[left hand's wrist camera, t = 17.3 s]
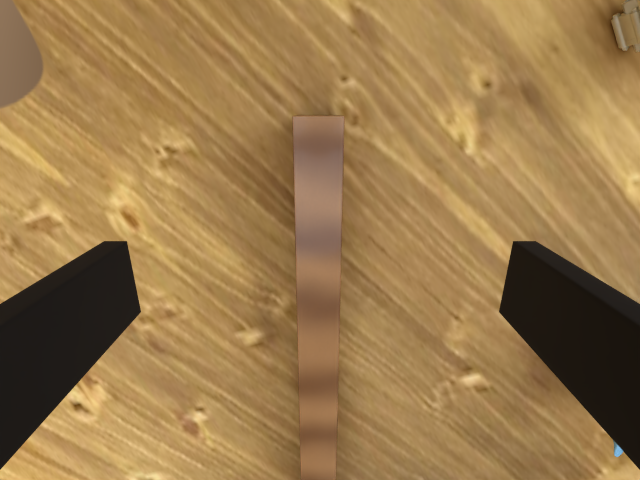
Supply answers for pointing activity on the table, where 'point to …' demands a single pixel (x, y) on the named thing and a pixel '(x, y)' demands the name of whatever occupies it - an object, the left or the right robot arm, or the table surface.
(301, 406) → the post
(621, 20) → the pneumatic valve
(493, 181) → the table surface
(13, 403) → the left robot arm
